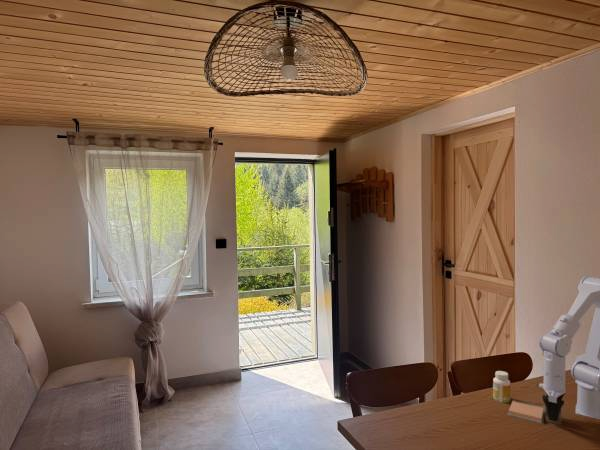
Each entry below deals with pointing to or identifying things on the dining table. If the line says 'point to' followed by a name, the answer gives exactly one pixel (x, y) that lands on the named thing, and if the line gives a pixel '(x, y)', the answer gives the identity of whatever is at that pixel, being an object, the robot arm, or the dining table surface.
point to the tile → (526, 411)
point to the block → (557, 420)
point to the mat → (533, 405)
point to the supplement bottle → (501, 387)
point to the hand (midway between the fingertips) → (553, 416)
